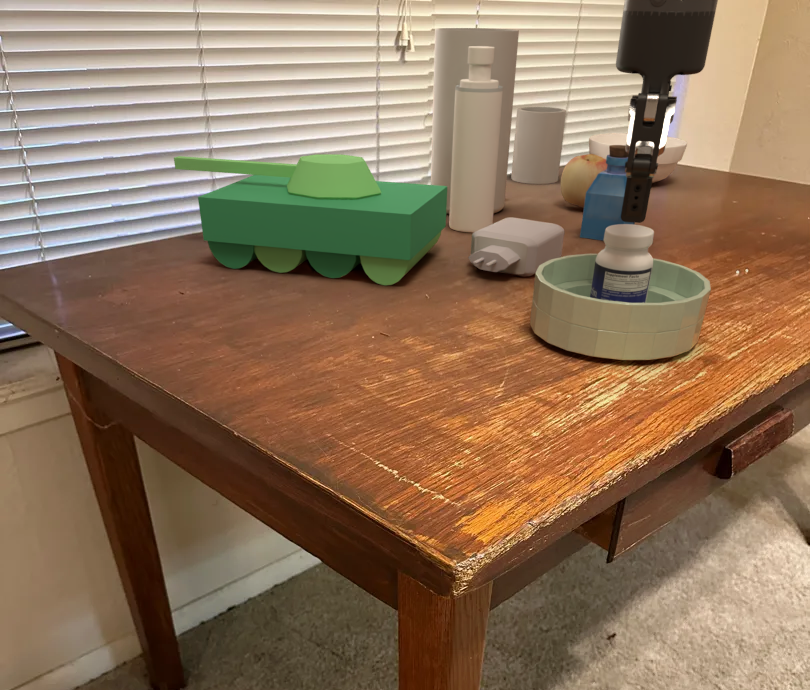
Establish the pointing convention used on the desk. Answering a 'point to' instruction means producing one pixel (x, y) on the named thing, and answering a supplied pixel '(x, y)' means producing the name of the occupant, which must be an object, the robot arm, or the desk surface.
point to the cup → (538, 144)
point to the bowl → (665, 161)
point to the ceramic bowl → (618, 311)
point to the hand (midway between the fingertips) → (634, 211)
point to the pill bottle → (624, 264)
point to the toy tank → (318, 216)
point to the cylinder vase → (446, 76)
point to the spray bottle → (475, 144)
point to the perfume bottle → (606, 196)
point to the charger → (516, 246)
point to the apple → (580, 177)
